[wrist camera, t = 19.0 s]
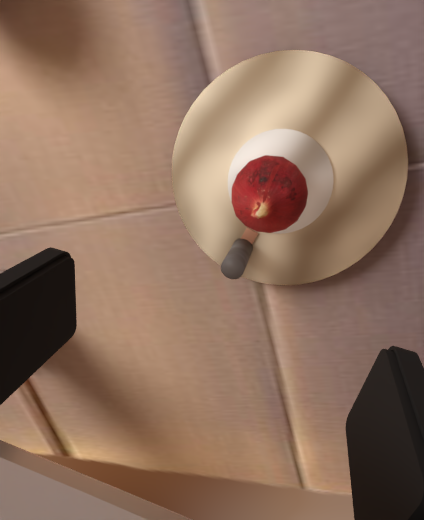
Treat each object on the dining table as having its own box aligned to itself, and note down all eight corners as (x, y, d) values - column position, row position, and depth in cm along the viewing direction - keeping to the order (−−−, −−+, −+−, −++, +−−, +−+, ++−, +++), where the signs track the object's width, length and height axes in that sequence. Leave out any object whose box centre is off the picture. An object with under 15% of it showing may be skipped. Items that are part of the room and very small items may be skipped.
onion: (243, 147, 29) (219, 161, 22) (313, 152, 27) (312, 168, 20) (239, 213, 31) (217, 245, 24) (303, 220, 30) (298, 256, 23)
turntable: (462, 124, 26) (504, 129, 20) (317, 310, 35) (317, 349, 30) (231, 7, 27) (208, -20, 21) (151, 219, 36) (120, 240, 30)
